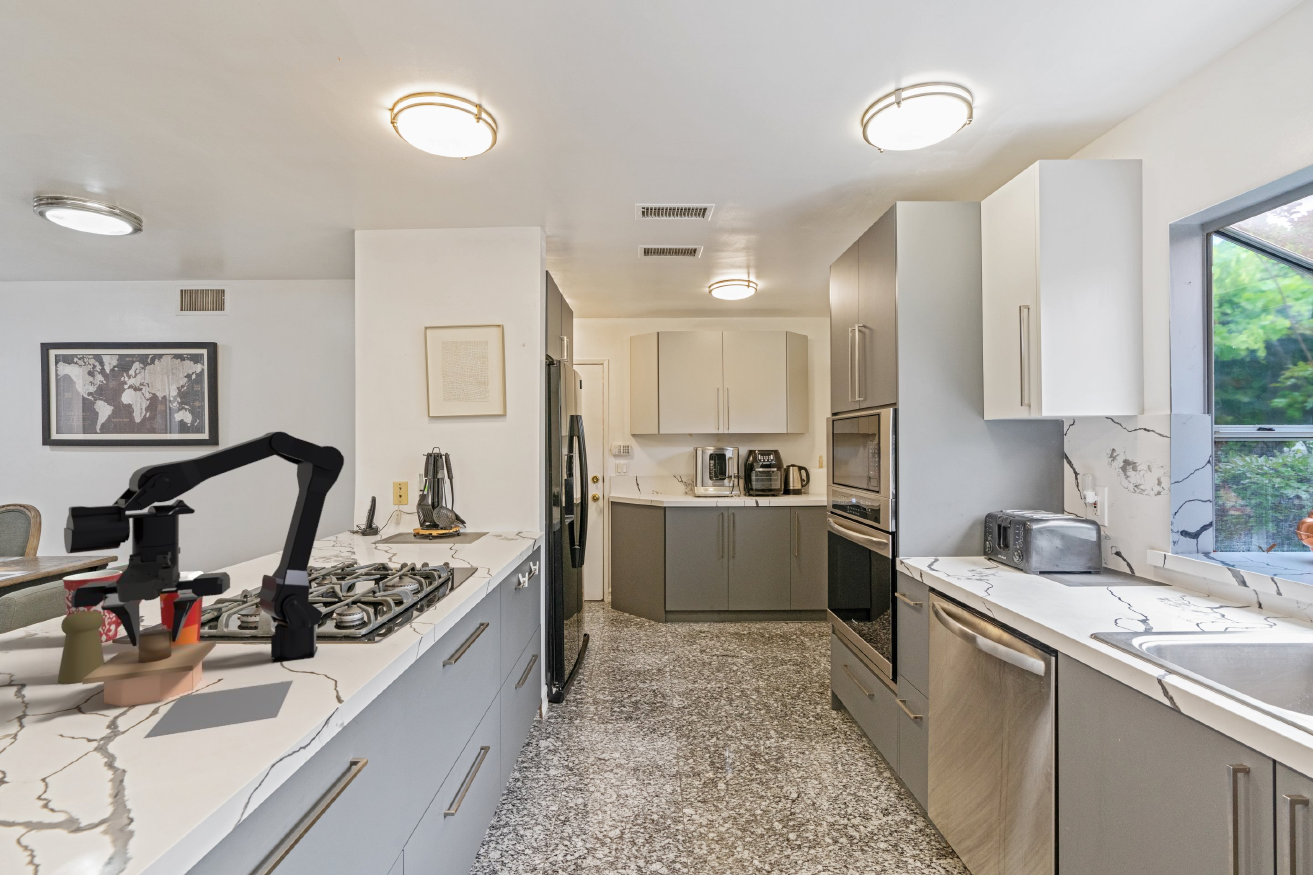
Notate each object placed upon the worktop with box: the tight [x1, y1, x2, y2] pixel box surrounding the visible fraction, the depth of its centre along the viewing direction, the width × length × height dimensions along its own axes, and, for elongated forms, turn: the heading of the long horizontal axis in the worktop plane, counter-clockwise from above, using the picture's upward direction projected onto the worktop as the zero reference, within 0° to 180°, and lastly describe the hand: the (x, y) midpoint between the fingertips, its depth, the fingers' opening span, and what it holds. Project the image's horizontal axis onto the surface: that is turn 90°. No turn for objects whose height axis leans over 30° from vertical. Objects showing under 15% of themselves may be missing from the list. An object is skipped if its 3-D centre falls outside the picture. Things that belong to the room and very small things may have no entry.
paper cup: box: [159, 570, 205, 646], centre depth 120 cm, size 8×8×14 cm
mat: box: [143, 680, 294, 739], centre depth 89 cm, size 15×15×1 cm
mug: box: [61, 569, 143, 644], centre depth 125 cm, size 13×9×14 cm
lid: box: [81, 628, 217, 685], centre depth 96 cm, size 13×13×5 cm
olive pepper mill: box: [57, 611, 106, 685], centre depth 103 cm, size 6×6×11 cm
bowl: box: [103, 660, 203, 708], centre depth 96 cm, size 11×11×4 cm
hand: (155, 643), depth 96 cm, fingers open, 5 cm apart
